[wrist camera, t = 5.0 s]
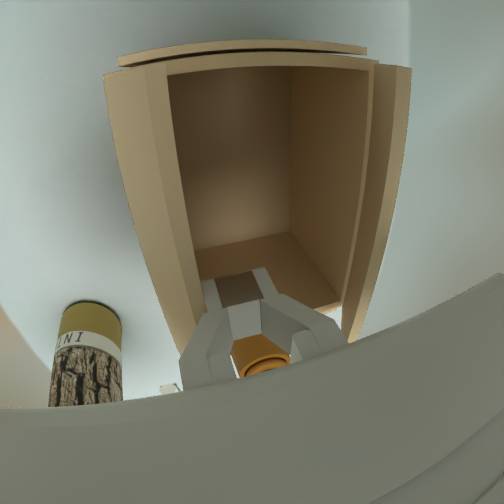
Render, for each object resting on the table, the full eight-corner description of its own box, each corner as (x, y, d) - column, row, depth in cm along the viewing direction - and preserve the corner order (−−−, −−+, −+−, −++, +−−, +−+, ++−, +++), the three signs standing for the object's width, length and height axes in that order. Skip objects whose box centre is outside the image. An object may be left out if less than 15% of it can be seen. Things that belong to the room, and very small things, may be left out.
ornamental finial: (281, 333, 37) (225, 352, 36) (275, 294, 33) (210, 315, 32) (305, 384, 31) (242, 406, 30) (304, 351, 26) (227, 377, 26)
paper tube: (132, 315, 29) (169, 572, 9) (107, 348, 30) (130, 565, 11) (74, 288, 25) (70, 572, 5) (55, 327, 27) (52, 559, 7)
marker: (193, 417, 48) (164, 380, 38) (204, 420, 47) (177, 383, 38) (189, 429, 46) (157, 395, 36) (200, 432, 46) (171, 399, 36)
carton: (129, 64, 16) (101, 61, 8) (295, 49, 18) (380, 49, 11) (168, 263, 26) (179, 353, 19) (294, 237, 29) (345, 309, 21)
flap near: (103, 79, 8) (144, 66, 5) (116, 76, 9) (165, 62, 5) (178, 352, 18) (223, 411, 14) (185, 348, 18) (230, 406, 15)
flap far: (349, 307, 20) (346, 368, 16) (342, 307, 20) (338, 367, 16) (384, 65, 11) (411, 68, 7) (373, 63, 11) (396, 65, 7)
